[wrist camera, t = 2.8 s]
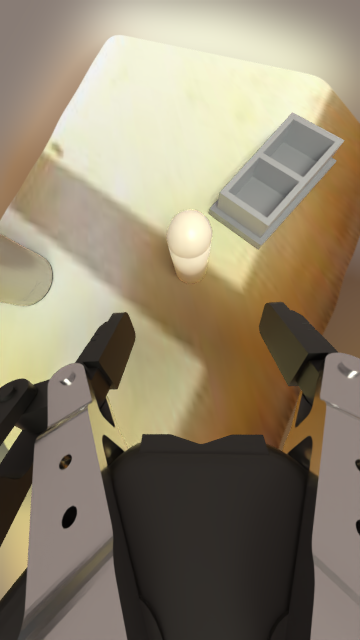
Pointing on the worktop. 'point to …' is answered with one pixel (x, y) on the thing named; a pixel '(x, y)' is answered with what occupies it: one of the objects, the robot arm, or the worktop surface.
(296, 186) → the grey divided tray
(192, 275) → the cream capsule shape
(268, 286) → the worktop surface
